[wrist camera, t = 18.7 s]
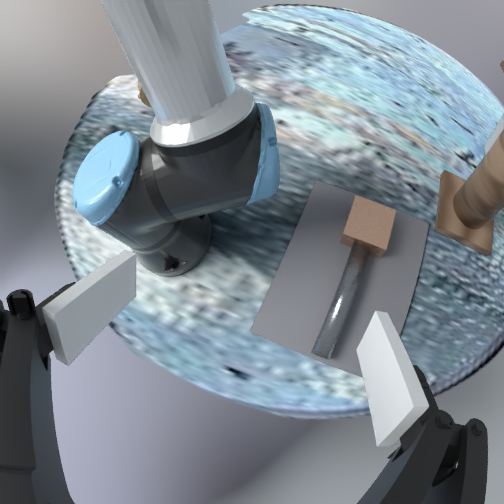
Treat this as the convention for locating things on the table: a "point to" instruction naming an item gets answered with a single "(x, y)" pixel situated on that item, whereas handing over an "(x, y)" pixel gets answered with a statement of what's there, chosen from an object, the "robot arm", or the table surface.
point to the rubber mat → (338, 279)
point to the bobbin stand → (473, 200)
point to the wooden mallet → (354, 265)
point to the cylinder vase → (494, 135)
